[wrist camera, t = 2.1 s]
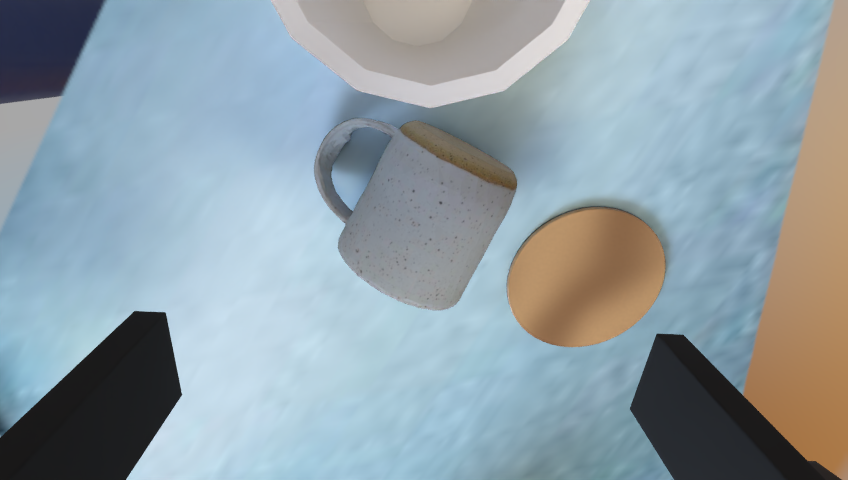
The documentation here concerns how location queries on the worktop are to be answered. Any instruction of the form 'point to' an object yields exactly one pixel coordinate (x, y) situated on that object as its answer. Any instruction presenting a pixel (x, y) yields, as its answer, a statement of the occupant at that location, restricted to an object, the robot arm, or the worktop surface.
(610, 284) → the cork coaster
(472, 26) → the foam cup
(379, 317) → the worktop surface
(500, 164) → the ceramic mug
